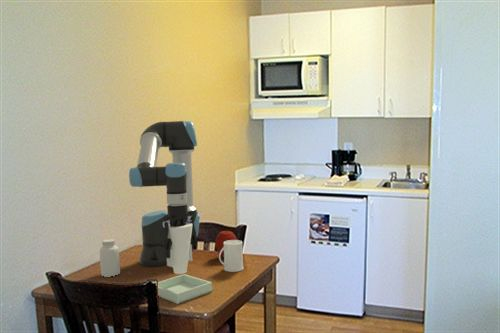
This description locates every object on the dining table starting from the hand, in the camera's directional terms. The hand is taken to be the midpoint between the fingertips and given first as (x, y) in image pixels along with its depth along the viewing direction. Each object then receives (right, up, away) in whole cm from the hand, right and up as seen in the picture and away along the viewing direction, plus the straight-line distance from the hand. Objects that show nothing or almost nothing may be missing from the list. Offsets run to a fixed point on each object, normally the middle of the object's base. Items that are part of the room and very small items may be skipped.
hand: (179, 263), depth 192 cm
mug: (+18, -8, +28) cm, 35 cm away
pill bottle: (-33, -10, +27) cm, 44 cm away
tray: (0, -11, +1) cm, 11 cm away
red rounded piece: (+15, -7, +47) cm, 50 cm away
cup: (0, -3, 0) cm, 4 cm away
